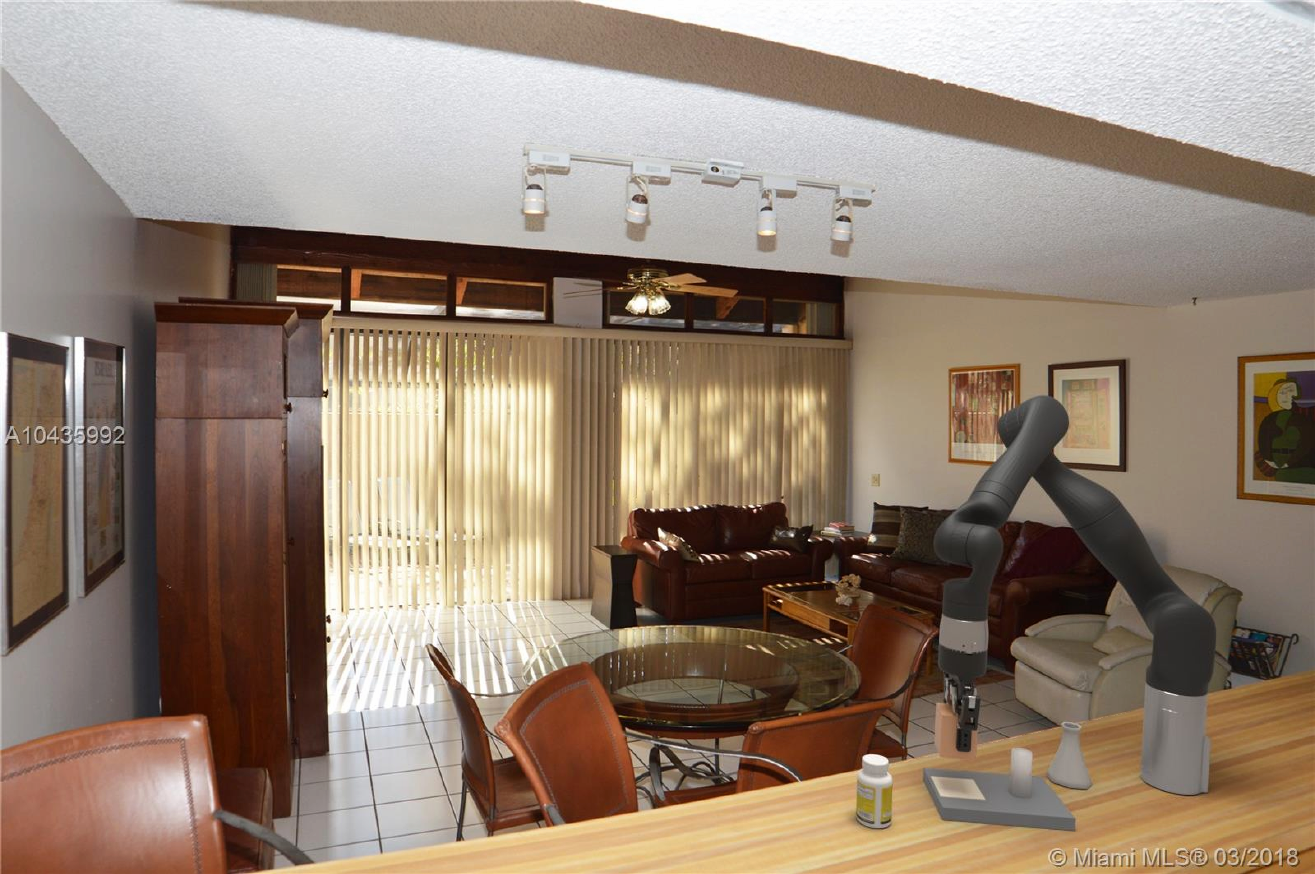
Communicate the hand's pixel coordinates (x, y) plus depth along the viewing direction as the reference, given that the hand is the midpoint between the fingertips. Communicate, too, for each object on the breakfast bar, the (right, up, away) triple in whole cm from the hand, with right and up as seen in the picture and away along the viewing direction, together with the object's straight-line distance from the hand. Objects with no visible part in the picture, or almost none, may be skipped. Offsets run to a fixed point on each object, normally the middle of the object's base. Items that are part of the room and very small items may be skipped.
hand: (958, 742), depth 132 cm
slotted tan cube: (-1, -2, 0) cm, 2 cm away
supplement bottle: (-16, -10, -7) cm, 20 cm away
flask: (+23, -10, +9) cm, 27 cm away
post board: (+6, -10, -1) cm, 11 cm away
